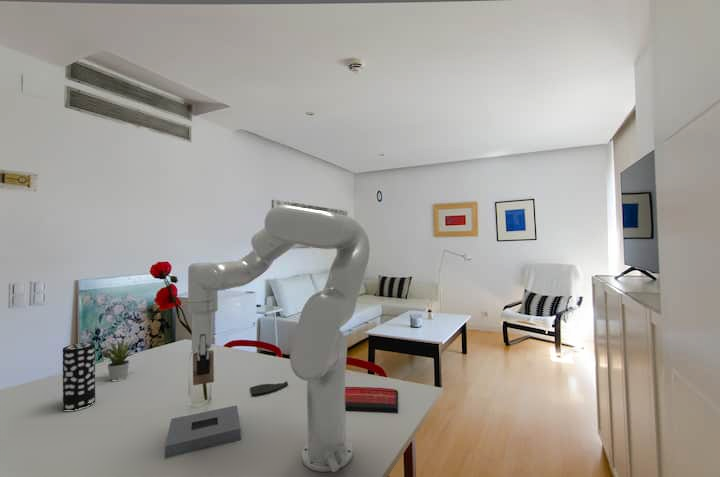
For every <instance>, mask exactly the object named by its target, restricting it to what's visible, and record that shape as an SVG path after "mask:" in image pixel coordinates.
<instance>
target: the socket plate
mask: <svg viewBox="0 0 720 477" xmlns="http://www.w3.org/2000/svg"><path fill="white" fill-rule="evenodd" d="M239 416H240V415H239V410H238V405H237V404H236V405H233V406H227V407H223V408H218V409H213V410H207V411H204V412H203V411H202V412H198V413H193V414H188V415H185V416H179V417H174V418H171V419H170V423H169V426H168V427H169V428H168V431H167V436H166V439H165V444H164V459H168V458H172V457H175V456H180V455H183V454H189V453H191V452H197V451H200V450H204V449H208V448H212V447H216V446H220V445H224V444H228V443H232V442H237V441H240V440H241V439H242V438H241V433H242V430H241V422H240V417H239Z"/></svg>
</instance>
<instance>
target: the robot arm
mask: <svg viewBox="0 0 720 477" xmlns="http://www.w3.org/2000/svg"><path fill="white" fill-rule="evenodd" d="M250 243H251V247H252V249H253V250H252V251H250V252H249V253H248V254H246V255H245V256H243V257H242V258H241V259H239V260H232V261H222V262H194V263H191V264H189V266H188V270H187V273H188V274H187V276H188V277H187V278H188V279H187V282H188V283H187V284H188V285H187V288H188V290H187V295H188V297H187V303H188V305H187V306H188V308H187V310H188V312H187V313H188V314H189V315H192V318H191V351H192V352H195V351H196V350H197V352H198V360H197V375H204V374H209V373H210V359H209V351H210V350H211V348H212V346H213V343H212V342H213V334H214V333H213V332H214V313H216V312H218V311H219V307H218V306H219V305H218V304H219V301H218V300H219V299H218V297H219V294H218V293H219V292H218V291H225V290H229V289H236V288H240V287H243V286H246V285H249V284H250V283H251V282H253V281H254V280H256V279H258V278H259V277H261V275H263V274H264V273H265V272H267V271H268V269H269V268H270V267H271V266H272V264H273V262H274V261H275V260H277V259H278V258H280V257H281V256H283V255H284V254H285V253H287V252H288V251H289V250H291V249H293V247H295V246H296V245H301V246H307V247H311V248H316V249H324V250H333V249H336V254H335V257H334V259H333V262H332V264H331V266H330V268H329V271H328V276H327V279H326V281H325V282H326V283H325V285H324V288H323V289H322V290H321V291H318V292H316V293H313V294H312V295H311V296H310V297H309V298H308V299H307V301H306V302H305V304H304V306H303V307H302V310H301V313H300V315H299V318H298V323H297V327H296V330H295V333H294V337H293V340H292V343H291V348H290V352H289V363H290V368H291V369H292V372H293V374H294V375H295V376H296V377H298V379H300V380H303V381H306V406H307V407H306V408H307V409H306V410H307V411H306V414H307V415H306V416H307V444H306V445H305V446H304V447H303V448H302V450H301V460H302V463H303V464H304V465H305V466H306V467H307V469H309V470H310V469H311V470H312V471H315V472H322V473H323V472H324V473H325V472H333V473H336V472H337V471H339V470H340V469H342V468H343V467H345V466H346V465H348V463H349V462H351V460H352V458H353V454H354V453H353V452H354V449H353V446H352V444H351V443H350V441H348V440H347V413H346V412H347V411H346V404H345V387H346V368H347V367H346V366H347V357H348V342H347V339H346V336H345V335H344V333H343V332H342V330H341V328H342V327H343V326H344V325H346V324H347V323H348V322H349V321H350V320H351V319H353V316H354V313H355V311H356V305H357V302H358V299H359V296H360V292H361V288H362V285H363V280H364V278H365V274H366V271H367V267H368V264H369V258H370V251H371V250H370V249H371V248H370V241H369V238H368V235H367V233H366V231H365V230H364V228H363V227H362V225H361V224H359V222H357V221H356V220H354V219H353V218H352V217H350V216H347V215H345V214H341V213H337V212H331V211H327V210H326V211H325V210H318V209H313V208H306V207H300V206H295V205H290V204H285V203H284V204H278V205H276V206H274V207H272V208H270V210H269V211H268V212H267V213H266V215H265V218H264V227H263V228H261V230H259V231H258V232H256V233H255V234H253V236H252V237H251V241H250ZM205 351H207V352H205Z"/></svg>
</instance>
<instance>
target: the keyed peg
mask: <svg viewBox="0 0 720 477" xmlns="http://www.w3.org/2000/svg"><path fill="white" fill-rule="evenodd" d="M205 352H207V351H205ZM214 358H215V357H214V349H209V359H210V373H209V374H204V375H197V360H198V351H196V352H195V351H194V352H193V354H192V385H193V386H198V385H199V386H200V385H203V384H204V385H205V384H209V383H214V382H215V379H214V378H215V371H214V370H215V369H214V368H215V366H214V364H215V362H214V360H215V359H214Z"/></svg>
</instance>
